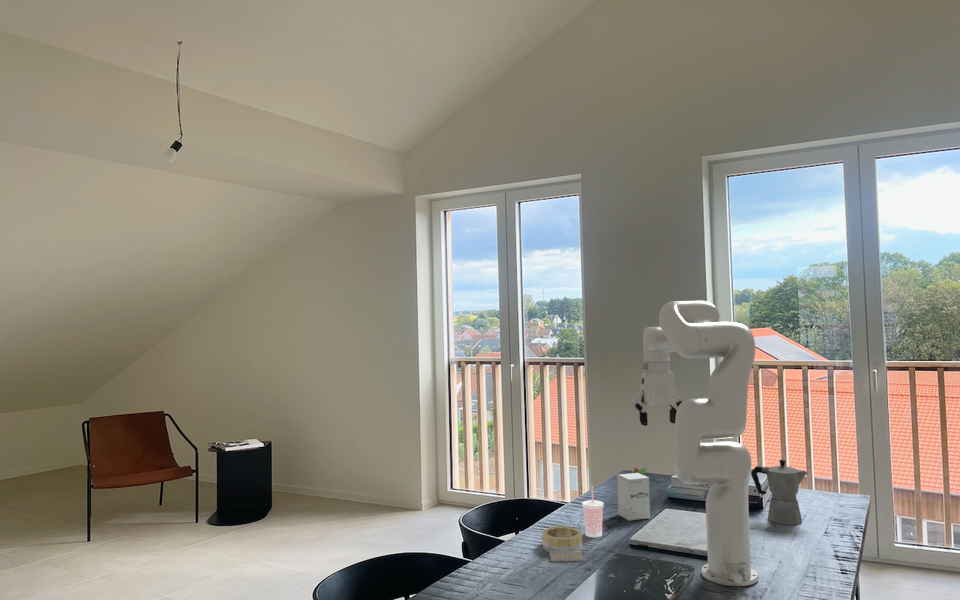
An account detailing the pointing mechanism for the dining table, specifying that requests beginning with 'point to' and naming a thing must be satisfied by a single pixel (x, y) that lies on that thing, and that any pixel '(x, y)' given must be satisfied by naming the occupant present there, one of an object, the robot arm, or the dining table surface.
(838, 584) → the dining table surface
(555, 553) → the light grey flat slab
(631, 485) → the supplement box
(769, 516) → the coffeepot
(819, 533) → the dining table surface
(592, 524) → the beverage cup
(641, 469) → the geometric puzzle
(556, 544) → the yellow faceted ring
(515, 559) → the dining table surface
